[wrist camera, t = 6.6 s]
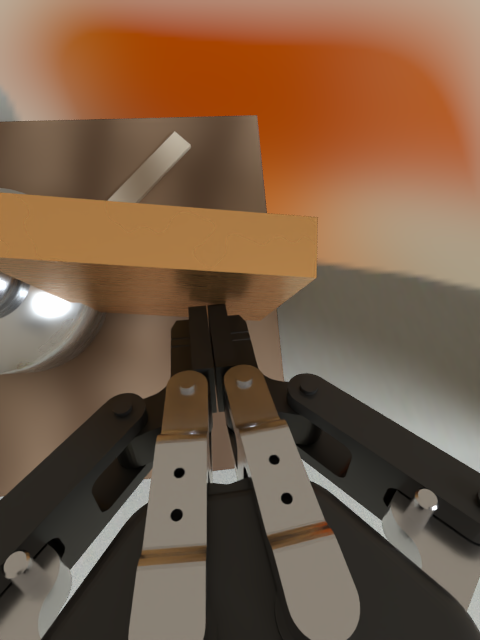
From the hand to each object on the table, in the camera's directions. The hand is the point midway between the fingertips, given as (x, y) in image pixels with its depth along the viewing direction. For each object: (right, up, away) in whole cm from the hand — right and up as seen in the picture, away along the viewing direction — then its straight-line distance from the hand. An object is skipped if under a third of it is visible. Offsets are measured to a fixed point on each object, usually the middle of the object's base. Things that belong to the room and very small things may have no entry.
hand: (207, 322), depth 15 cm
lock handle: (-6, +1, +5) cm, 7 cm away
